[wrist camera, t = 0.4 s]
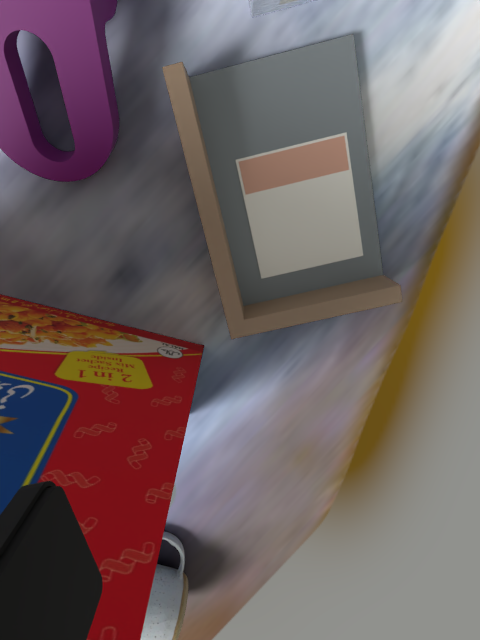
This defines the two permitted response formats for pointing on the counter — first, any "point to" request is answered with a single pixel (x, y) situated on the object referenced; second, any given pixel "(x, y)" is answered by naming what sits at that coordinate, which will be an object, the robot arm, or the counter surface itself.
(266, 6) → the bracket
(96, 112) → the mounting bracket
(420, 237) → the counter surface
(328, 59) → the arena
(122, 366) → the pasta box
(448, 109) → the counter surface
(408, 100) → the counter surface
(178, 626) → the ceramic mug
